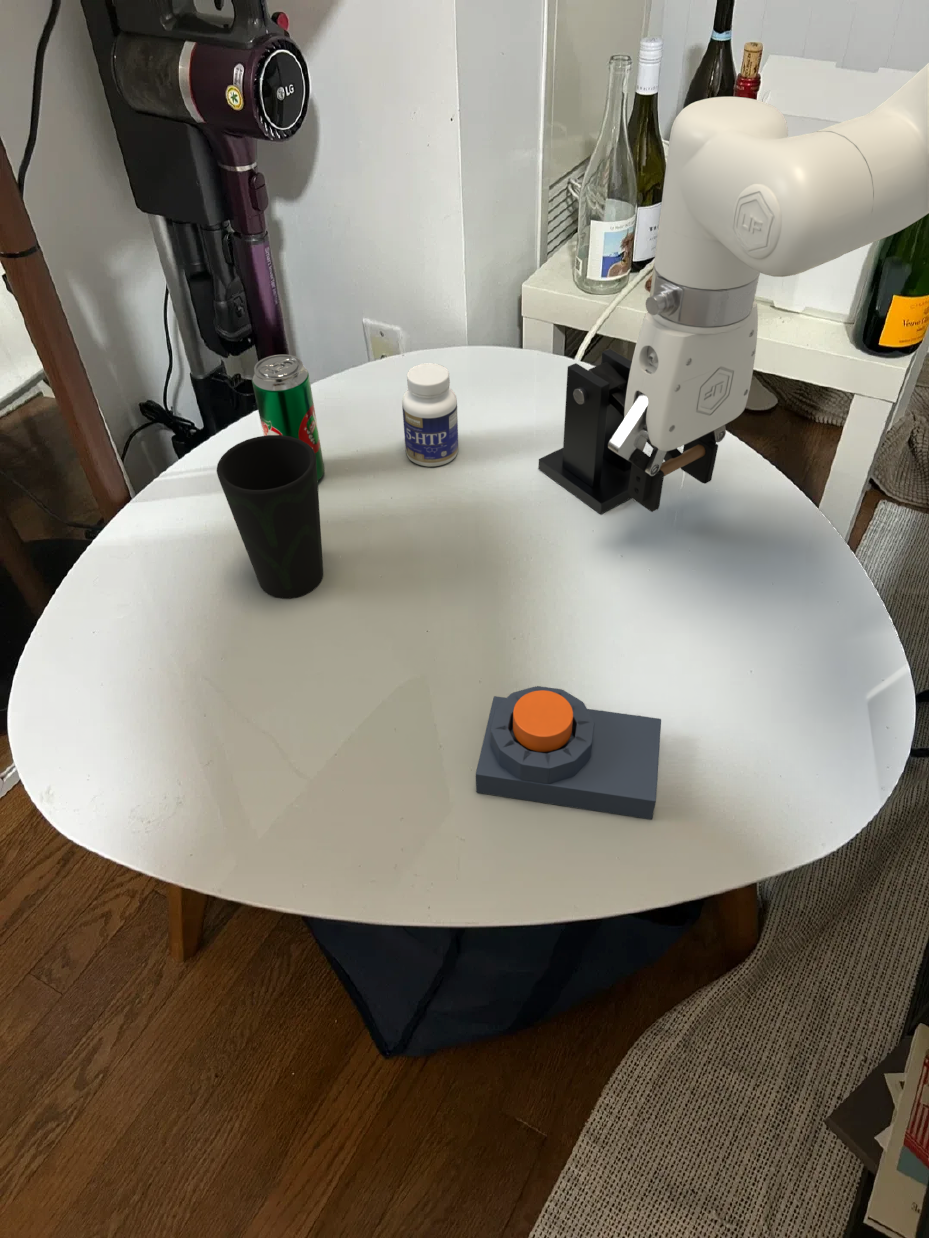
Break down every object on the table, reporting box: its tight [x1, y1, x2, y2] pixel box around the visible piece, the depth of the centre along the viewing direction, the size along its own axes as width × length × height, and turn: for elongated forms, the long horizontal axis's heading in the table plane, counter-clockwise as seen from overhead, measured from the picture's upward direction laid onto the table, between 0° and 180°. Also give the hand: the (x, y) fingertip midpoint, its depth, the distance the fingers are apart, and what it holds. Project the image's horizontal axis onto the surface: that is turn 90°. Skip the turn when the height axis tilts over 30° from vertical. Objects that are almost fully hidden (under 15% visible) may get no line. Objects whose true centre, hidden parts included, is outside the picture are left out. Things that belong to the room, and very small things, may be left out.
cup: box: [215, 435, 324, 600], centre depth 76 cm, size 8×8×12 cm
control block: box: [475, 685, 662, 820], centre depth 64 cm, size 12×7×4 cm, turn 79°
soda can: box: [251, 354, 325, 481], centre depth 86 cm, size 5×5×12 cm
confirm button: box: [513, 690, 573, 752], centre depth 62 cm, size 4×4×2 cm
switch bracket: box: [537, 348, 632, 515], centre depth 84 cm, size 9×7×12 cm
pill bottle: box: [401, 362, 459, 467], centre depth 89 cm, size 5×5×9 cm
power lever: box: [587, 362, 705, 477], centre depth 80 cm, size 12×6×2 cm, turn 36°
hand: (669, 487), depth 80 cm, fingers closed on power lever, 5 cm apart
